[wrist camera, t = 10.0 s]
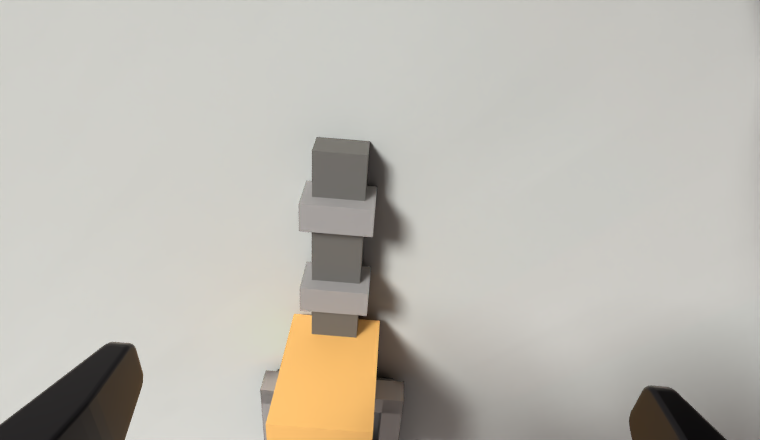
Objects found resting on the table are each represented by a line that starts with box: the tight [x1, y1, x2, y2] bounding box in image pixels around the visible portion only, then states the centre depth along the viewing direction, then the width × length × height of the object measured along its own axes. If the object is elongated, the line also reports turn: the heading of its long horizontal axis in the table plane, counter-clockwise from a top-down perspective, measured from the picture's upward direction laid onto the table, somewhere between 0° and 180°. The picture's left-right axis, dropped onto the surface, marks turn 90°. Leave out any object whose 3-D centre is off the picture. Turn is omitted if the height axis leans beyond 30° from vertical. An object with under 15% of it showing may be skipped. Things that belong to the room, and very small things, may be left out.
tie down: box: [260, 137, 404, 440], centre depth 23 cm, size 20×7×6 cm, turn 176°
